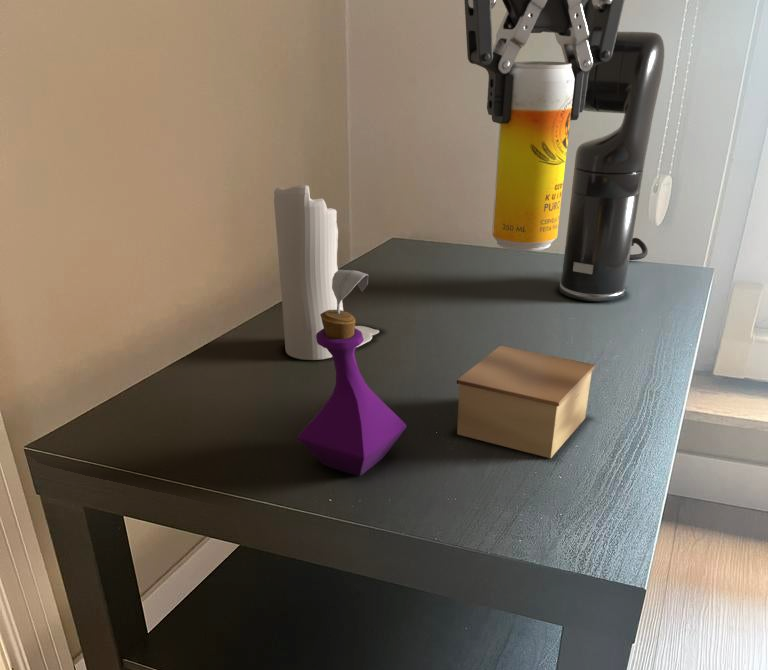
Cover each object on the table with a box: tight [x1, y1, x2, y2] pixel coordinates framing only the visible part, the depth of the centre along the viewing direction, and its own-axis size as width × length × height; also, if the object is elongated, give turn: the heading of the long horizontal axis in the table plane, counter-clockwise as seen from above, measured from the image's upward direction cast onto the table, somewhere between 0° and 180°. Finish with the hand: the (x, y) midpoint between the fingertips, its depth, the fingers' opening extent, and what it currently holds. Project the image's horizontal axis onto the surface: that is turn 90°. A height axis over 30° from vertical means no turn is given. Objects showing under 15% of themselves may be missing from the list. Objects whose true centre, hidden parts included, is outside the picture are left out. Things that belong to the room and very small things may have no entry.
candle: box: [273, 184, 380, 361], centre depth 97 cm, size 7×14×20 cm, turn 137°
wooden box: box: [456, 345, 596, 459], centre depth 81 cm, size 10×10×6 cm
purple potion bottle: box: [296, 269, 407, 477], centre depth 71 cm, size 8×8×18 cm
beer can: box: [491, 60, 575, 252], centre depth 72 cm, size 6×6×15 cm
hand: (534, 120), depth 70 cm, fingers closed on beer can, 6 cm apart
